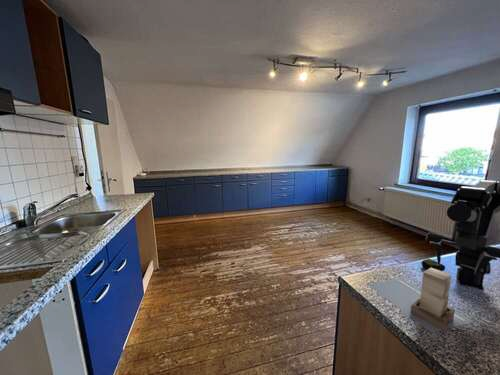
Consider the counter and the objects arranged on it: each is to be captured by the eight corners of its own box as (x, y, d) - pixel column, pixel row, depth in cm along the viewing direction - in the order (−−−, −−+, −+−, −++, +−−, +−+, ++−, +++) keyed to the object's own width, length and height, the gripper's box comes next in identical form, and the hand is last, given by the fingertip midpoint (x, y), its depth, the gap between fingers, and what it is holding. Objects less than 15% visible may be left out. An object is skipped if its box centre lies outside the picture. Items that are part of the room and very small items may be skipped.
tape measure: (445, 272, 94) (446, 264, 94) (434, 275, 92) (435, 267, 91) (428, 265, 101) (429, 257, 100) (417, 267, 99) (418, 259, 98)
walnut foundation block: (422, 303, 74) (423, 295, 73) (453, 318, 67) (454, 310, 67) (410, 312, 70) (411, 304, 69) (442, 329, 63) (444, 321, 62)
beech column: (426, 302, 71) (431, 267, 69) (446, 311, 67) (451, 274, 65) (419, 308, 69) (423, 271, 67) (439, 318, 65) (444, 279, 63)
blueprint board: (401, 280, 89) (401, 277, 89) (473, 324, 66) (474, 321, 66) (367, 286, 85) (367, 283, 85) (431, 335, 62) (431, 332, 62)
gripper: (431, 217, 74) (421, 262, 74) (516, 233, 63) (504, 287, 63) (430, 217, 83) (421, 258, 83) (504, 231, 71) (494, 278, 72)
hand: (456, 269), depth 75 cm, fingers open, 9 cm apart
